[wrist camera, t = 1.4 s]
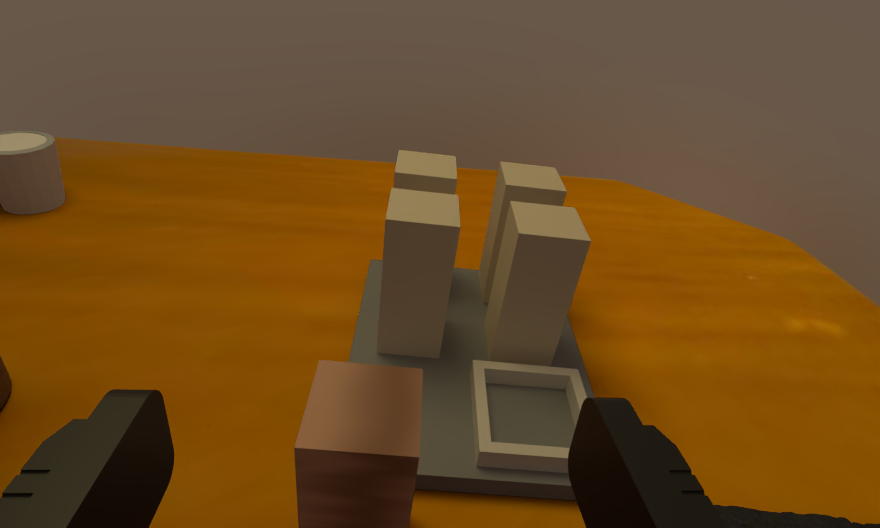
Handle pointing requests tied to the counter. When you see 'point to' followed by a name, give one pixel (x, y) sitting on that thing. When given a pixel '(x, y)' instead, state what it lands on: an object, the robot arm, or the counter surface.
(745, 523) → the dark slate chunk
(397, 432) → the terracotta pillar
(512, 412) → the pillar board
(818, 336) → the counter surface
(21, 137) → the beige piece
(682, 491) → the robot arm
